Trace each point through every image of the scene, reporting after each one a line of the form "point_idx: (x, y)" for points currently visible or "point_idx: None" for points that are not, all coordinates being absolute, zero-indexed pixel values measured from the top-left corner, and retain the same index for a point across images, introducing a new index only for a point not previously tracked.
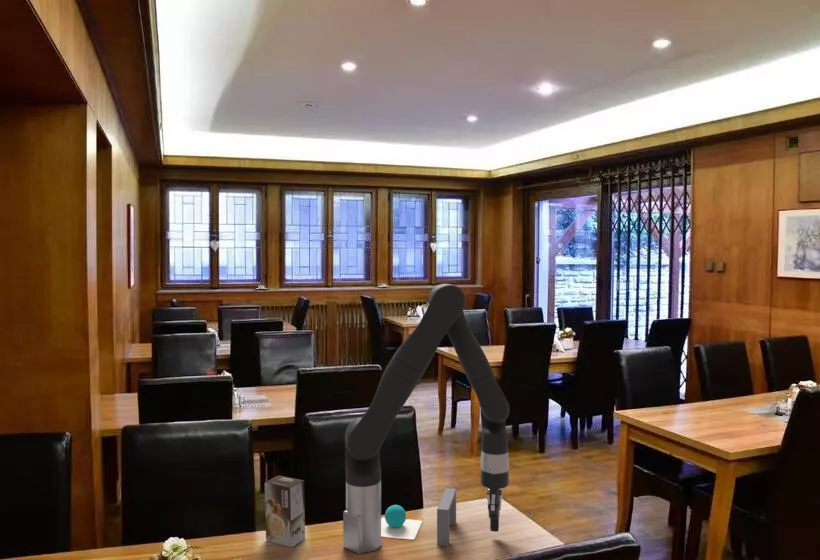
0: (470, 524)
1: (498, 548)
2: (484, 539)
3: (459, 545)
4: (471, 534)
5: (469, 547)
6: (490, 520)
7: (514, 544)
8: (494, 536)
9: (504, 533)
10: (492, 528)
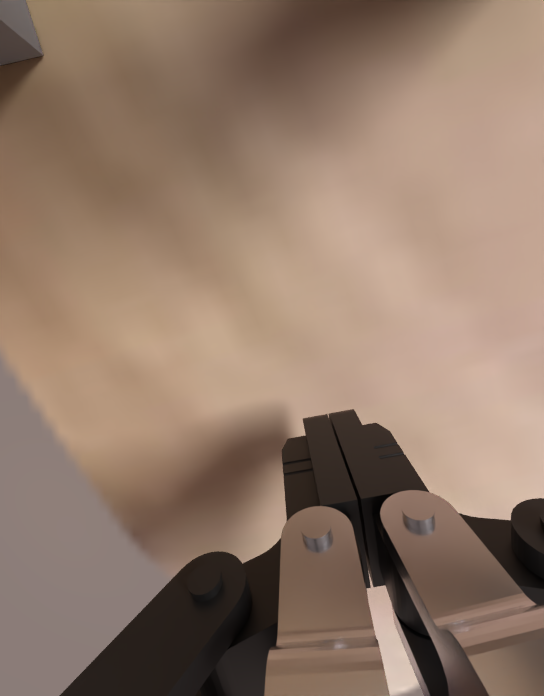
0: (523, 133)
1: (166, 474)
2: (260, 349)
3: (51, 179)
4: (310, 216)
5: (67, 278)
6: (315, 481)
7: (270, 544)
8: (341, 404)
9: (414, 454)
10: (284, 458)
